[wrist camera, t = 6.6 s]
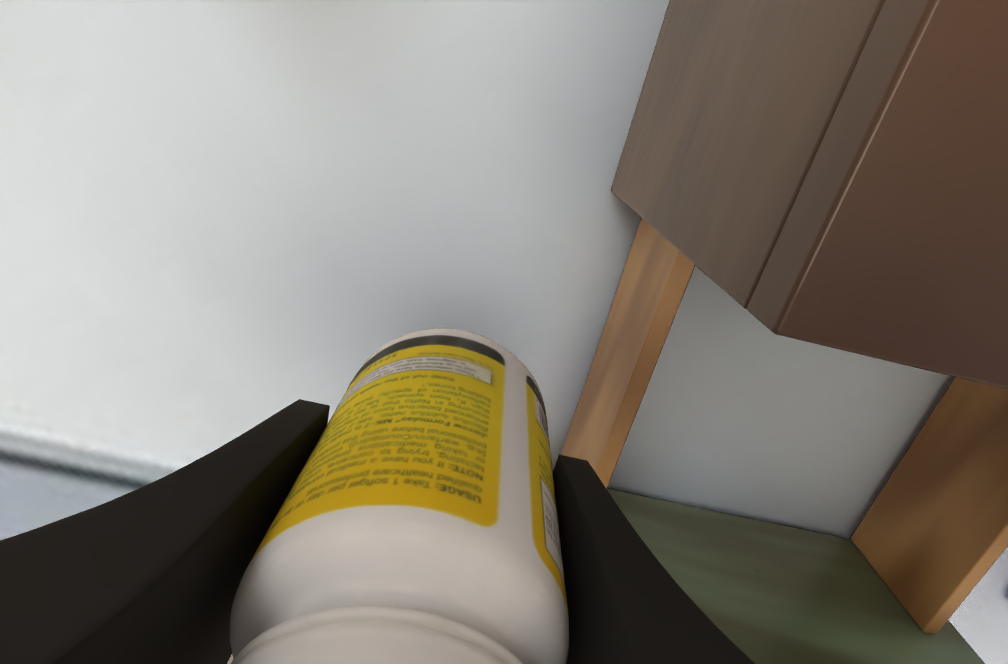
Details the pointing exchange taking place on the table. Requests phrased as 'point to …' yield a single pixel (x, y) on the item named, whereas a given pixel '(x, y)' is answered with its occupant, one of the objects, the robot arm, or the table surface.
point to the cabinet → (837, 170)
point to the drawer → (799, 553)
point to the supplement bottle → (416, 522)
